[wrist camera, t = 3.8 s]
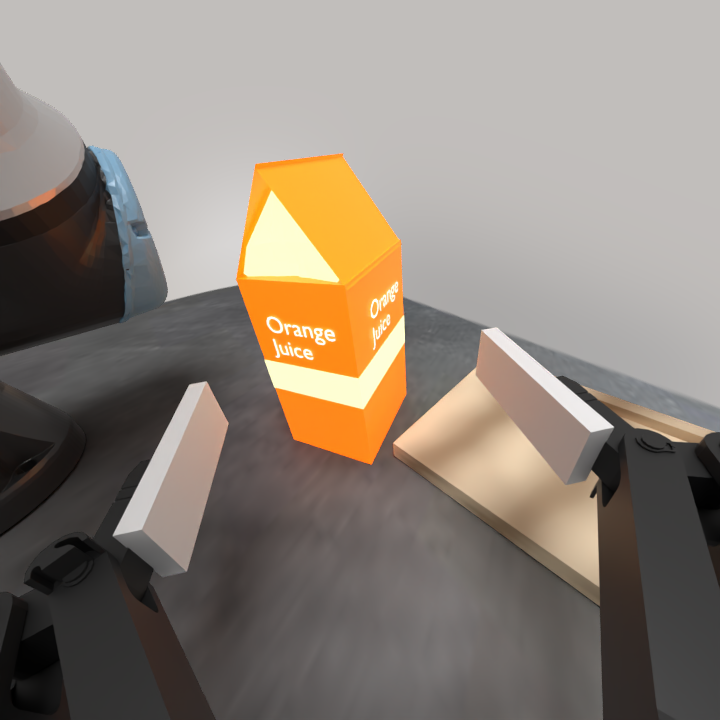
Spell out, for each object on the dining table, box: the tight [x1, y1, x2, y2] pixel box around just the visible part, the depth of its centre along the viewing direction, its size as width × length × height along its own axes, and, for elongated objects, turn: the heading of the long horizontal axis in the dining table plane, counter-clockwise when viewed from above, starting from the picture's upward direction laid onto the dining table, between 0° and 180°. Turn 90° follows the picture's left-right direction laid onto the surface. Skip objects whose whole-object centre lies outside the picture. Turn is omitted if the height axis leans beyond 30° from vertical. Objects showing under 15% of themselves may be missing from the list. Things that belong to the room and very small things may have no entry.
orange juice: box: [236, 154, 406, 465], centre depth 22 cm, size 8×9×20 cm
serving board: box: [393, 367, 714, 606], centre depth 20 cm, size 20×14×2 cm
